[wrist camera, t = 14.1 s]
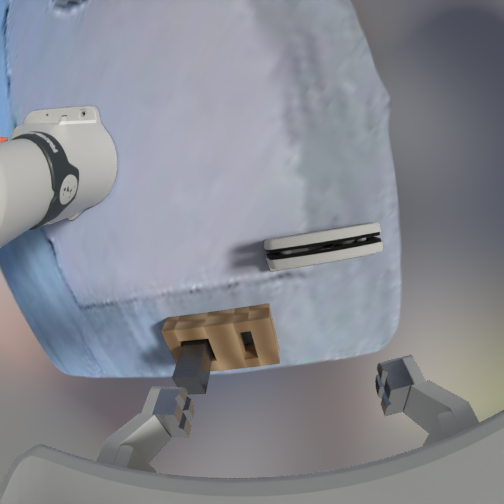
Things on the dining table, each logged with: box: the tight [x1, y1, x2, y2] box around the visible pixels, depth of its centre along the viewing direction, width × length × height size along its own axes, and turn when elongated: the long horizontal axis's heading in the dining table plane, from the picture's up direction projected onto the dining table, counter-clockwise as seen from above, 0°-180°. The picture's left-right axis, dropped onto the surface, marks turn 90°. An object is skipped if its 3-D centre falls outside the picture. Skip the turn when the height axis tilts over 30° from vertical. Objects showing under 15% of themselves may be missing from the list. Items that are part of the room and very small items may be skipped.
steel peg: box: [172, 339, 214, 394], centre depth 45 cm, size 4×4×12 cm
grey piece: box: [264, 223, 383, 272], centre depth 39 cm, size 17×5×10 cm, turn 101°
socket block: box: [161, 304, 280, 371], centre depth 49 cm, size 18×10×4 cm, turn 102°
